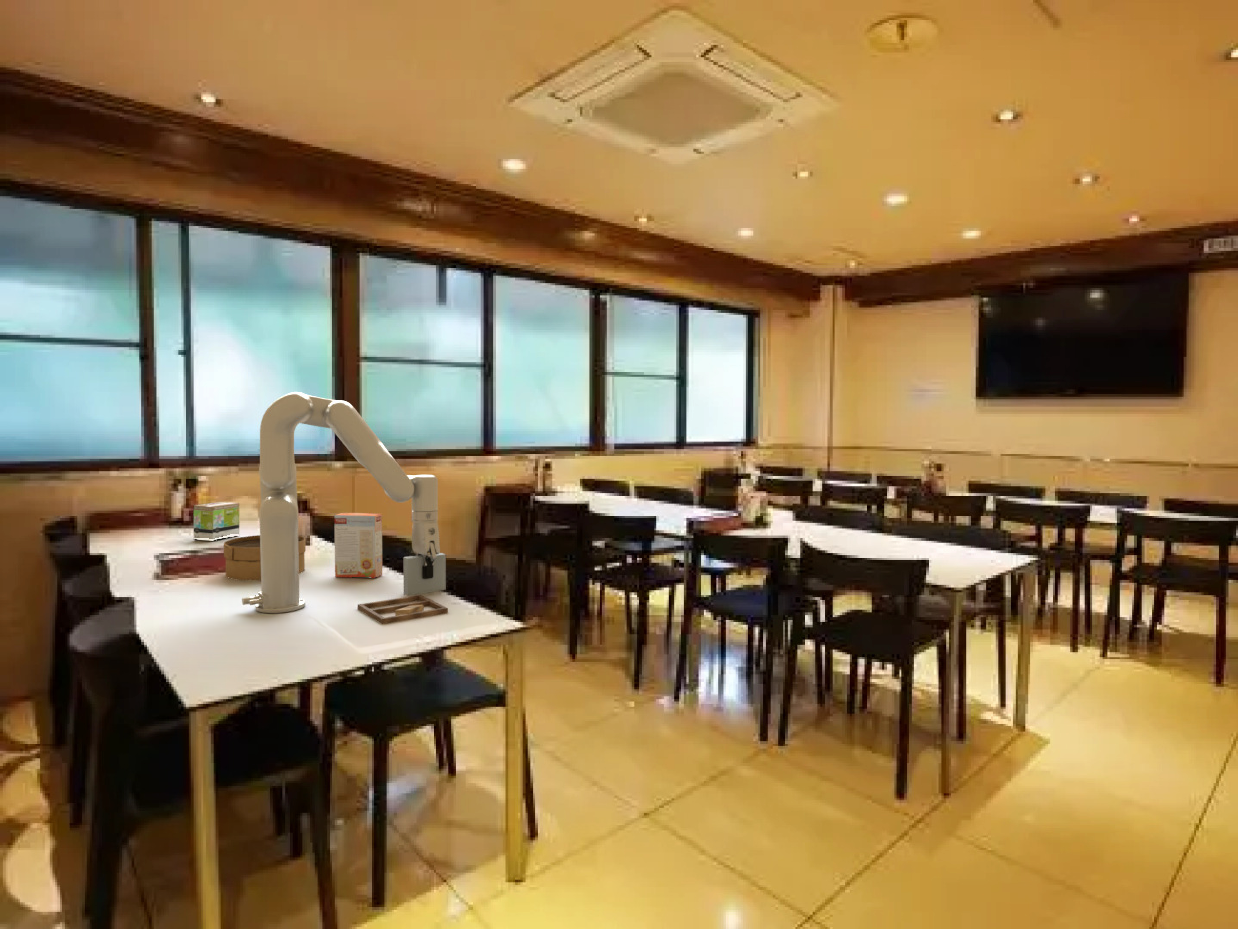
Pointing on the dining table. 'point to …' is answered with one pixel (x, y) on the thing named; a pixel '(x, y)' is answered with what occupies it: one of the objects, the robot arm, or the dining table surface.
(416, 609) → the upper offcut
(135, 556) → the dining table surface
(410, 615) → the frame
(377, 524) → the cracker box
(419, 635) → the dining table surface
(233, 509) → the tea box
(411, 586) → the grey panel
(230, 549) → the steamer basket
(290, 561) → the robot arm
